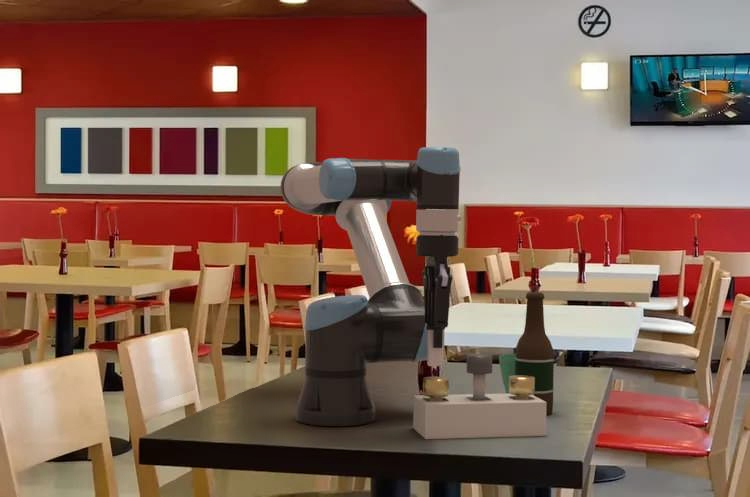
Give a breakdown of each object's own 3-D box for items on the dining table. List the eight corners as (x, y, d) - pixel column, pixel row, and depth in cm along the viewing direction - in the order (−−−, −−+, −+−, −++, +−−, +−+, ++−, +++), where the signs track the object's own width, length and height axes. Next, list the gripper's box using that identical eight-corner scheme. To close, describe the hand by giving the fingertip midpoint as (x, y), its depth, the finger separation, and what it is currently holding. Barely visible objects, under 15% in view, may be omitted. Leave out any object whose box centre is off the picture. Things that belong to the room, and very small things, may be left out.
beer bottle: (527, 417, 210) (528, 294, 209) (506, 410, 217) (508, 291, 216) (561, 415, 213) (562, 293, 212) (539, 408, 220) (541, 290, 219)
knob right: (512, 423, 194) (513, 379, 194) (505, 418, 198) (505, 375, 198) (537, 422, 195) (538, 378, 194) (529, 418, 199) (530, 375, 199)
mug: (538, 410, 217) (538, 361, 217) (491, 406, 221) (492, 358, 221) (558, 400, 230) (559, 353, 230) (514, 396, 235) (515, 350, 234)
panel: (425, 439, 188) (425, 404, 188) (413, 427, 198) (413, 395, 198) (546, 435, 192) (546, 402, 192) (528, 425, 202) (528, 393, 202)
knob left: (425, 425, 191) (426, 380, 191) (420, 420, 196) (420, 376, 195) (451, 425, 192) (451, 380, 192) (445, 420, 196) (445, 376, 196)
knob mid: (470, 402, 192) (470, 357, 192) (463, 398, 197) (463, 354, 197) (494, 401, 193) (495, 357, 193) (487, 397, 198) (488, 353, 197)
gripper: (467, 235, 187) (465, 370, 188) (449, 233, 200) (447, 360, 201) (424, 234, 186) (423, 371, 187) (409, 232, 199) (407, 360, 199)
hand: (435, 365), depth 194 cm, fingers closed
